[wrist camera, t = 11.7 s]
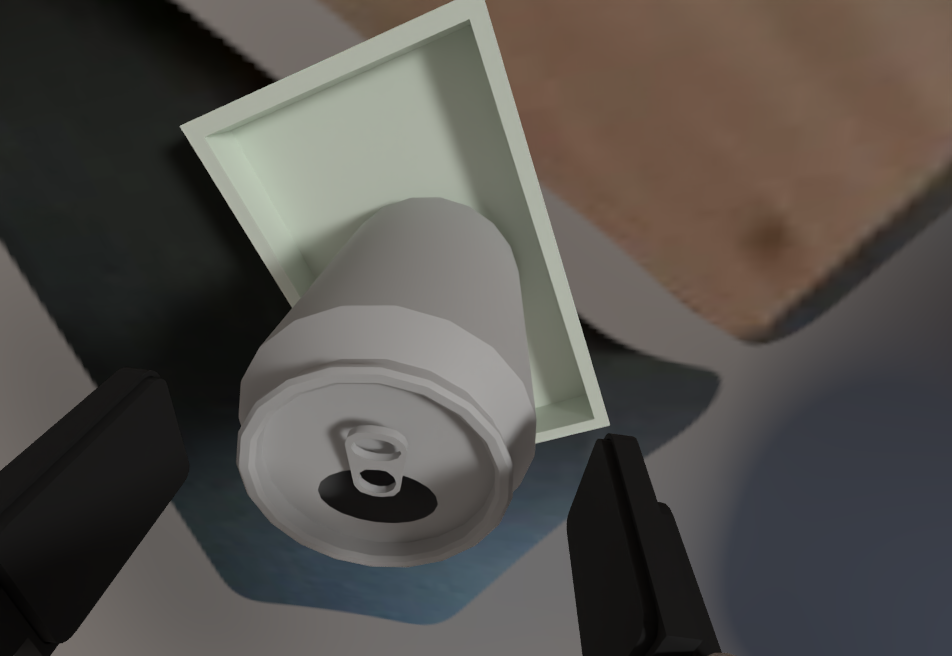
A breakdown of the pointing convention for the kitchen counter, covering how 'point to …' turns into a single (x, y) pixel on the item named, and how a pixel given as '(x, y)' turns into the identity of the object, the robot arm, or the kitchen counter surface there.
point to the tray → (403, 175)
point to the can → (395, 393)
